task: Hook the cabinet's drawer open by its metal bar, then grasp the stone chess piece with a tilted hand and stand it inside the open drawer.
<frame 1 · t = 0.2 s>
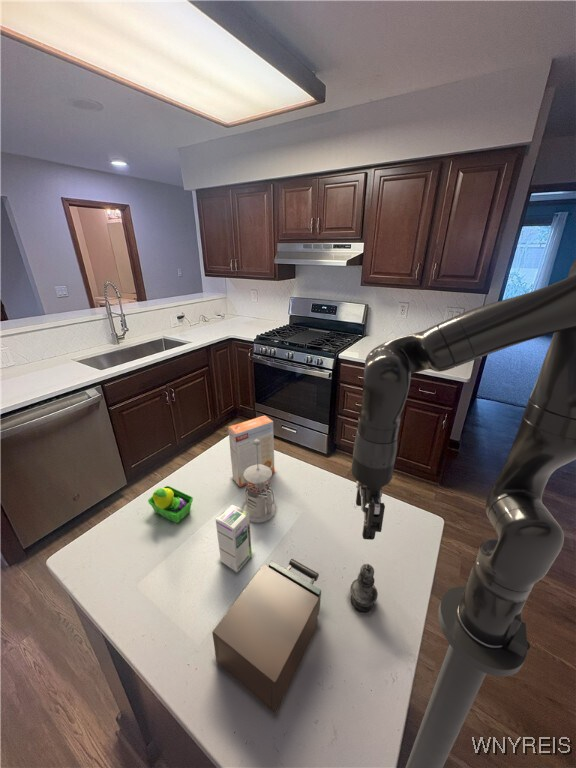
hand: (364, 520, 63), 22 cm above the kitchen island, tool pointing down, fingers open, 8 cm apart
cabinet: (269, 644, 62), on the kitchen island
french press: (260, 512, 94), on the kitchen island
cracker box: (253, 475, 109), on the kitchen island
drawer: (282, 606, 64), point 5 cm above the kitchen island, slide at 1.0 cm
fruit basket: (171, 514, 93), on the kitchen island
stone chess piece: (362, 602, 70), on the kitchen island
syrup box: (236, 559, 80), on the kitchen island
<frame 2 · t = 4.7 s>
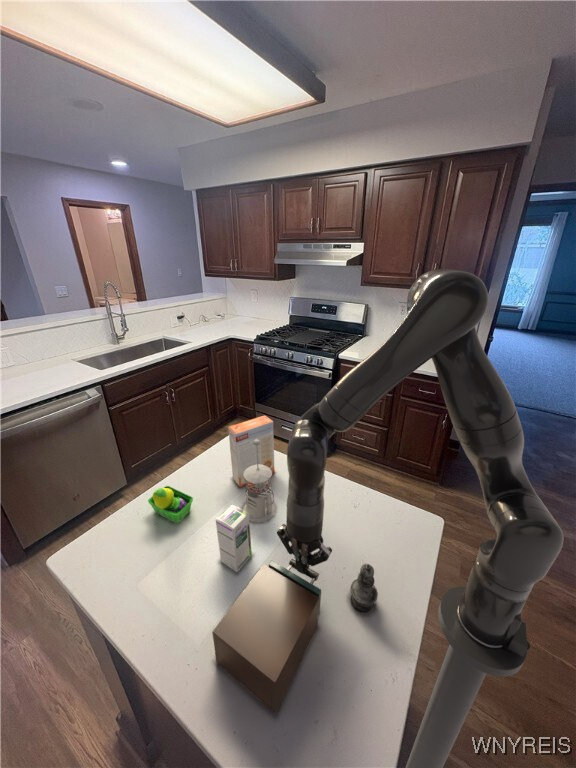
hand: (302, 569, 70), 7 cm above the kitchen island, tool pointing down, fingers closed
drawer: (282, 606, 64), point 5 cm above the kitchen island, slide at 1.1 cm, touching gripper
everything else where it was.
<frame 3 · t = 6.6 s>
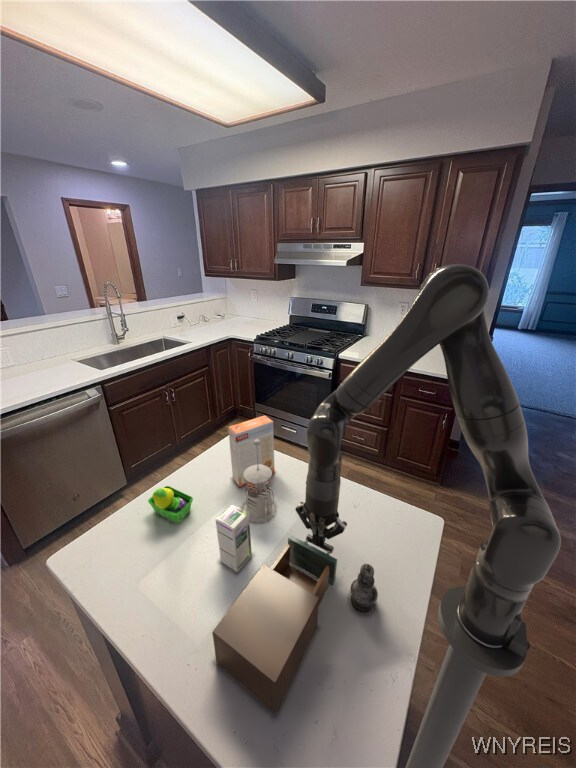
hand: (318, 543, 76), 7 cm above the kitchen island, tool pointing down, fingers closed
drawer: (302, 574, 71), point 5 cm above the kitchen island, slide at 9.1 cm, touching gripper
everything else where it was.
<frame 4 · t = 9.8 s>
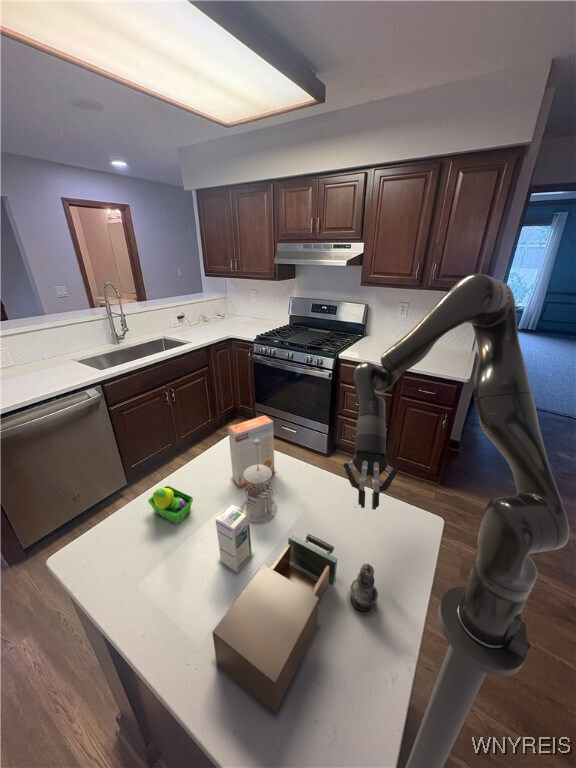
hand: (368, 508, 73), 17 cm above the kitchen island, tool tilted 45°, fingers closed
drawer: (302, 574, 71), point 5 cm above the kitchen island, slide at 9.2 cm
everything else where it was.
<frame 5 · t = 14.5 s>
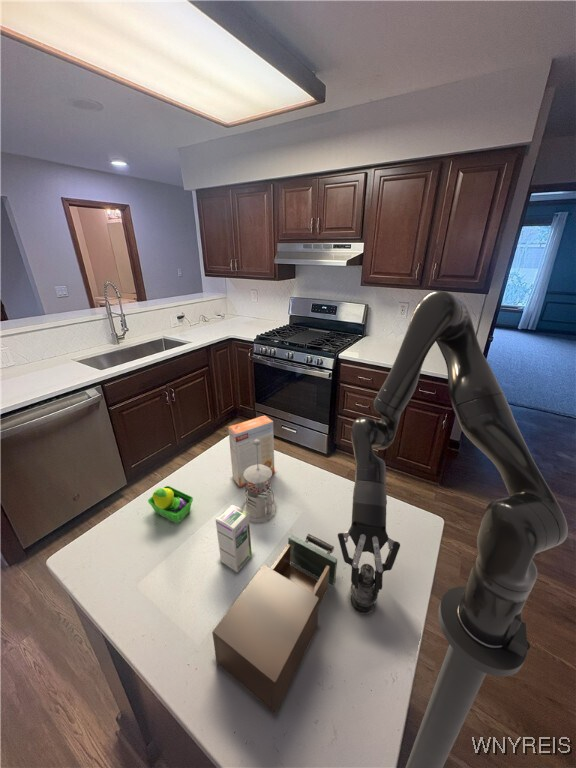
hand: (366, 589, 66), 7 cm above the kitchen island, tool tilted 45°, fingers closed on stone chess piece, 3 cm apart
stone chess piece: (362, 602, 70), on the kitchen island, touching gripper
everything else where it was.
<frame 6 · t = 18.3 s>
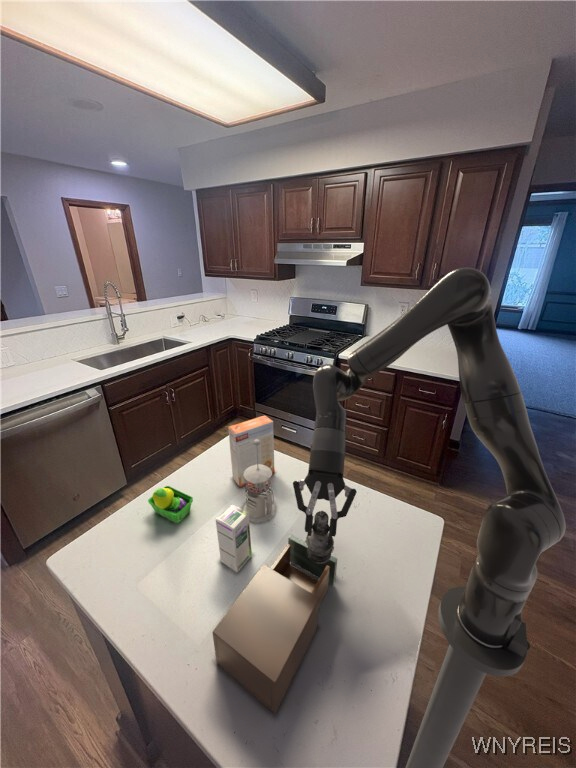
hand: (319, 536, 63), 20 cm above the kitchen island, tool tilted 45°, fingers closed on stone chess piece, 3 cm apart
stone chess piece: (318, 553, 67), point 12 cm above the kitchen island, touching gripper
everything else where it was.
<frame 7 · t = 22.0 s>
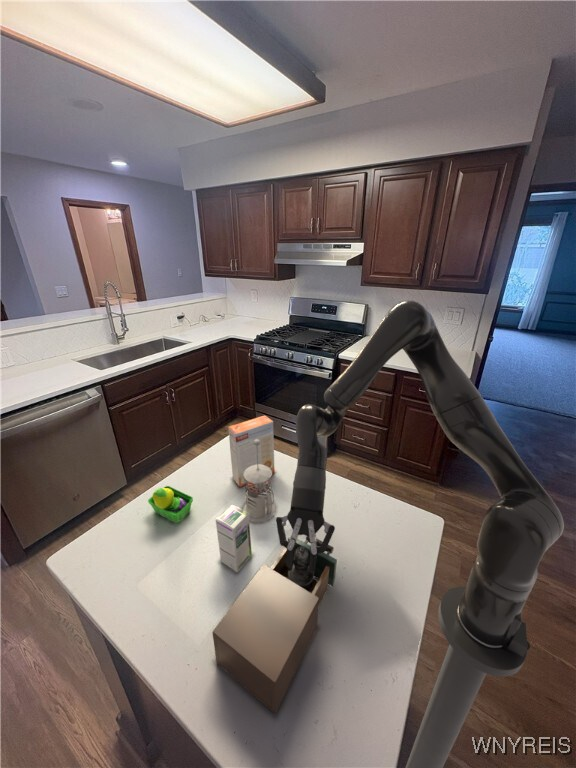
hand: (300, 571, 67), 9 cm above the kitchen island, tool tilted 45°, fingers closed on stone chess piece, 3 cm apart
drawer: (301, 575, 71), point 5 cm above the kitchen island, slide at 9.1 cm, touching stone chess piece
stone chess piece: (300, 584, 72), point 2 cm above the kitchen island, touching drawer, gripper
everything else where it was.
when the fingers open (9 cm above the kitchen island, at t = 22.0 s): stone chess piece stays where it is, resting on drawer.
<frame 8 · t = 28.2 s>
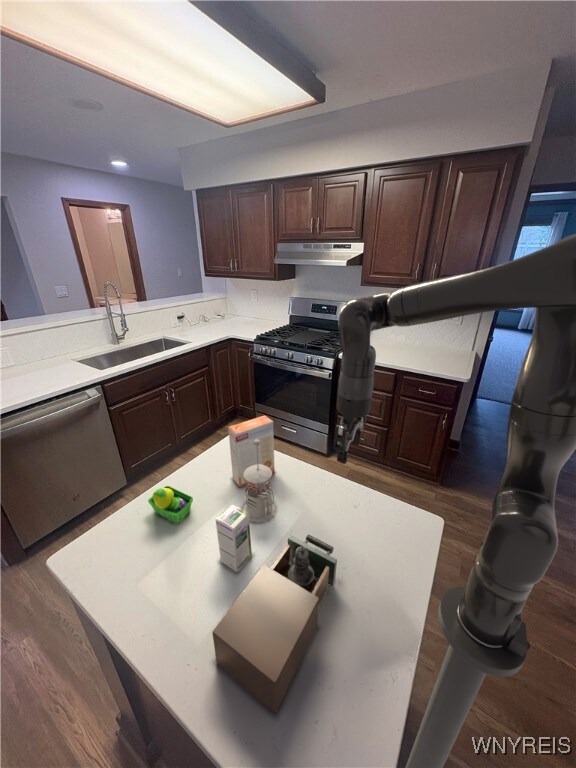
hand: (348, 452, 75), 28 cm above the kitchen island, tool pointing down, fingers open, 8 cm apart
stone chess piece: (300, 584, 72), point 2 cm above the kitchen island, touching drawer
everything else where it was.
at the end: drawer slide at 9.1 cm; stone chess piece inside the target area in the drawer (0.2 cm from its centre), point 1.8 cm above the cabinet's base; stone chess piece tilted 0° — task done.
